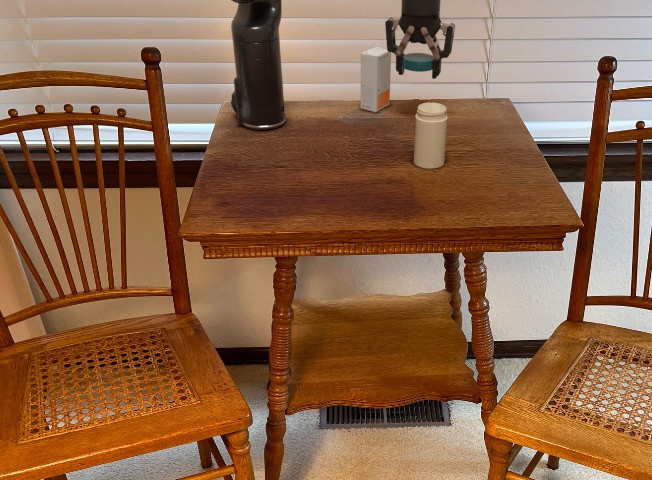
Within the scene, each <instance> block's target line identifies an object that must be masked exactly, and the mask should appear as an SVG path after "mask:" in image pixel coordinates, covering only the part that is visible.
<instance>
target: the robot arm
mask: <svg viewBox="0 0 652 480" xmlns="http://www.w3.org/2000/svg"><path fill="white" fill-rule="evenodd" d="M230 1H231V2H233V3H236V4H237V9H236V12H235V14H234V16H233V19H232V20H231V23H230V30H231V37H232V48H233V56H234V66H235V74H236V76H235V77H234V79H233V87H234V90H233V92H232V93H231V100H230V106H231V108H232V109H233V110H234V112H235V113H236V114H237V123H238V127H244V128H246V129H250V130H255V131H269V130H275V129H278V128H280V127H282V126H284V125H285V124H286V122H287V118H286V105H285V97H284V96H285V95H284V82H283V81H284V80H283V69H282V67H283V66H282V54H281V53H282V52H281V41H280V40H281V39H280V25H281V21H282V17H283V16H282V15H283V14H282V13H283V11H282V8H283V7H282V6H283V4H282V0H230ZM400 9H401V12H400V13H401V14H400V18H394V17H389V18H388V19H386V20H385V23H384V25H385V26H384V27H385V39H386V49H387V50H388V52H391V54H394V55H395V70H396V72H397V73H398V76H403V75H404V74H405V69H404V68H403V67H402V60H403V56H404V55H406V53H405V50H406V49H407V47H408V45H409V44H418V43H419V44H421V45H427V47H428V50H429V51H430V52H431V55H432V56H433V57H434V59H433V66H432V70H431V79H433V80H436V79H437V77H439V76H440V74H441V72H442V59H447V58H449V56H451V54H452V51H453V44H454V37H455V30H456V24H455V23H453V22H451V23H444V22H442V20H441V16H440V15H441V0H401V8H400ZM398 27H399V28H400V29H401V31H402V33H403V34H404V35H403V37H402V39H401V41H400V42H399V44H398V45H397V42H396V40H397V39H396V31H397V30H398ZM440 30H441V31H442V36H444V42H443V49H441V46H440V42H439V39H438V37H437V34H438V32H439V31H440Z"/></svg>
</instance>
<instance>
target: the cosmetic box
mask: <svg viewBox="0 0 652 480" xmlns="http://www.w3.org/2000/svg"><path fill="white" fill-rule="evenodd" d="M391 72H392V52H388V50H387V48H384V47H381V46H374V47H371V48H369V49H367V50H365V51H363V52H361V53H360V110H364V111H367V112H372V113H377V112H379V111H381V110H382V109H385V108H387V107H389V106H390V104H391V103H390V101H391V75H392V74H391Z"/></svg>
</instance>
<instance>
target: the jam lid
mask: <svg viewBox="0 0 652 480" xmlns="http://www.w3.org/2000/svg"><path fill="white" fill-rule="evenodd" d="M433 59H434V57H433V54H430V53H424V52H409V53H405V55H404V56H403V60H402V67H403V68H404V70H407V71H411V72H420V73H421V72H422V73H423V72H429V71H432V66H433Z"/></svg>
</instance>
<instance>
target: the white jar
mask: <svg viewBox="0 0 652 480" xmlns="http://www.w3.org/2000/svg"><path fill="white" fill-rule="evenodd" d="M447 110H448V108H447V106H445V104H442V103H439V102H423V103H420V104H418V106H417V109H416V114H415V117H414V138H413V139H414V140H413V141H414V142H413V164H414V165H415V166H417V167H419V168H422V169H432V170H433V169H437V168H441V167H443V166H444V165H445V160H446V147H447V134H448V131H447V130H448V121H449V120H448V119H449V118H448V114H447Z"/></svg>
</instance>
